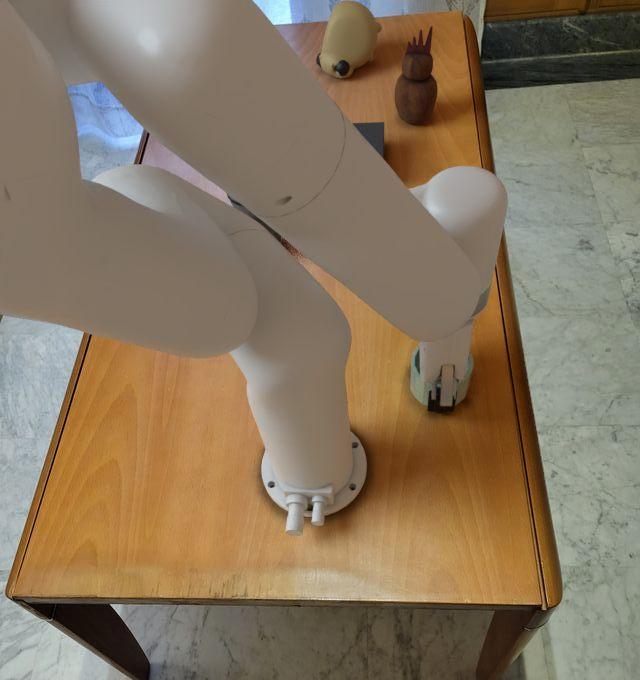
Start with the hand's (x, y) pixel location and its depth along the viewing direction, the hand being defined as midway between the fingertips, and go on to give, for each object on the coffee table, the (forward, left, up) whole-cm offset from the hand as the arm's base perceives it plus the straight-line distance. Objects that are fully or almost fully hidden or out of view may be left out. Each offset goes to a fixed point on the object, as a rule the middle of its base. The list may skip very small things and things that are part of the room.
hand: (439, 381), depth 80 cm
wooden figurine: (+54, +3, -1) cm, 54 cm away
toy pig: (+70, +15, -1) cm, 72 cm away
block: (+42, +13, -1) cm, 44 cm away
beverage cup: (+24, +25, -1) cm, 35 cm away
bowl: (0, 0, -1) cm, 1 cm away
